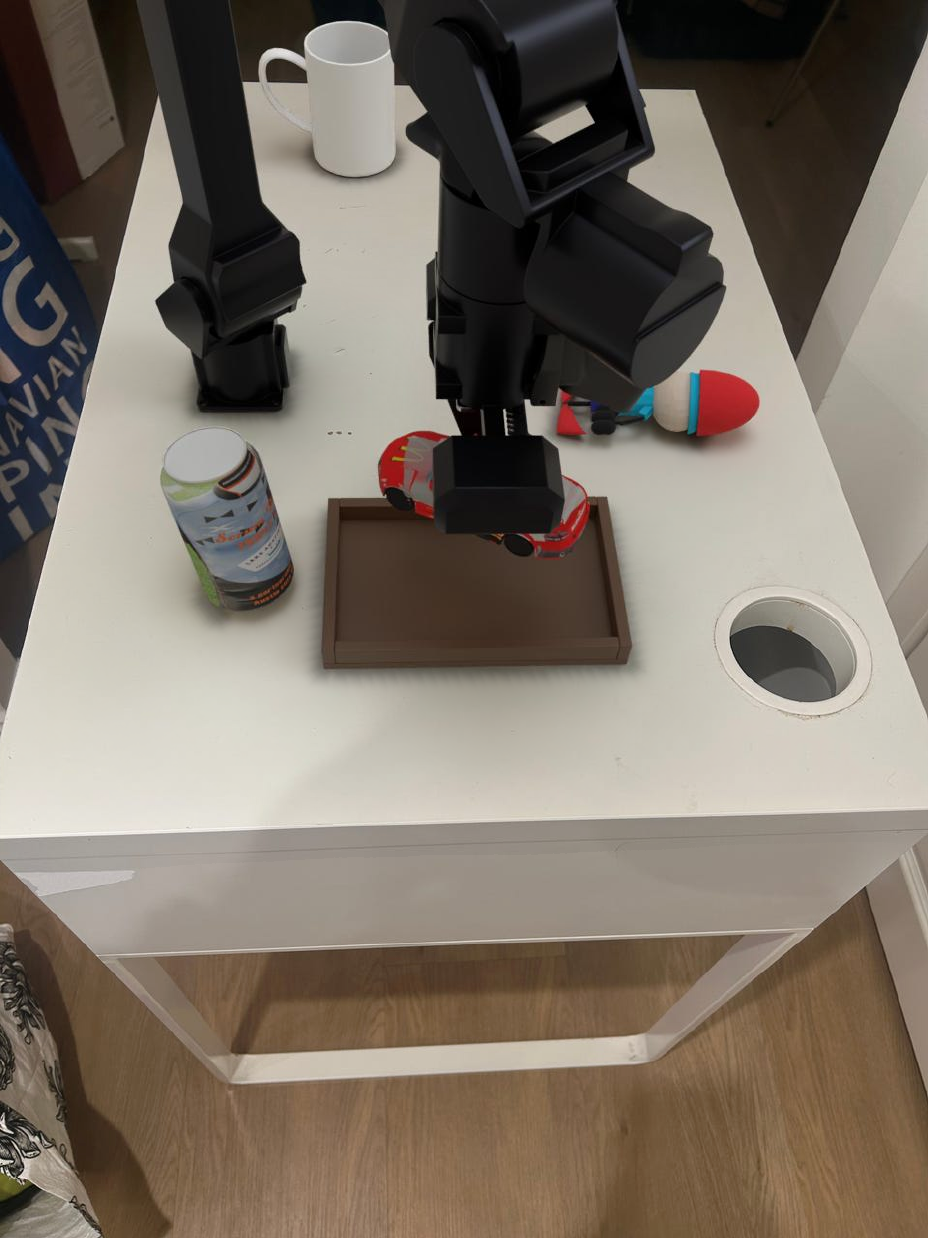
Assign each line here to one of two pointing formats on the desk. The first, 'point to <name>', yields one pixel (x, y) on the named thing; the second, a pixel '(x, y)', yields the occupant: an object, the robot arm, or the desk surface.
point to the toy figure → (677, 406)
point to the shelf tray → (465, 595)
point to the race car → (411, 485)
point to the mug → (345, 96)
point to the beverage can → (227, 517)
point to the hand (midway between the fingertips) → (479, 489)
